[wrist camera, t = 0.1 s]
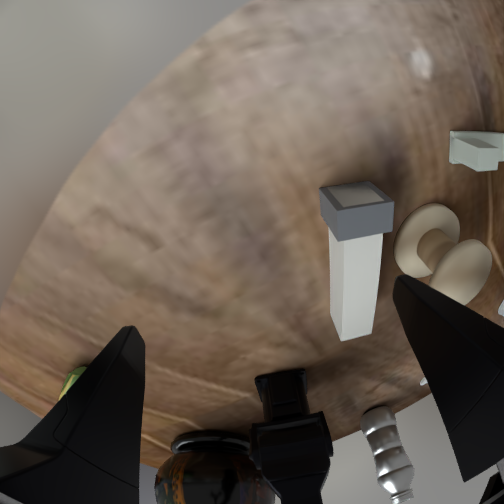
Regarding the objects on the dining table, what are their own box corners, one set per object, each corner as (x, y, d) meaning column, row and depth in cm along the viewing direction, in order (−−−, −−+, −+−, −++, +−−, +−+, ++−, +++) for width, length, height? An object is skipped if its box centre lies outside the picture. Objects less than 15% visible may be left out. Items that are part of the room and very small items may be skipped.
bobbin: (447, 263, 28) (481, 302, 22) (389, 279, 28) (420, 326, 22) (459, 198, 24) (504, 232, 18) (396, 208, 24) (439, 250, 18)
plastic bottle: (360, 408, 44) (389, 506, 27) (394, 398, 44) (427, 490, 27) (355, 422, 48) (379, 510, 31) (386, 412, 48) (414, 497, 31)
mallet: (363, 305, 30) (378, 334, 26) (324, 314, 30) (336, 346, 26) (368, 180, 23) (394, 201, 19) (318, 187, 23) (336, 211, 19)
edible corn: (107, 398, 30) (73, 391, 27) (75, 428, 38) (51, 423, 35) (105, 362, 34) (74, 354, 31) (73, 402, 41) (51, 397, 38)
